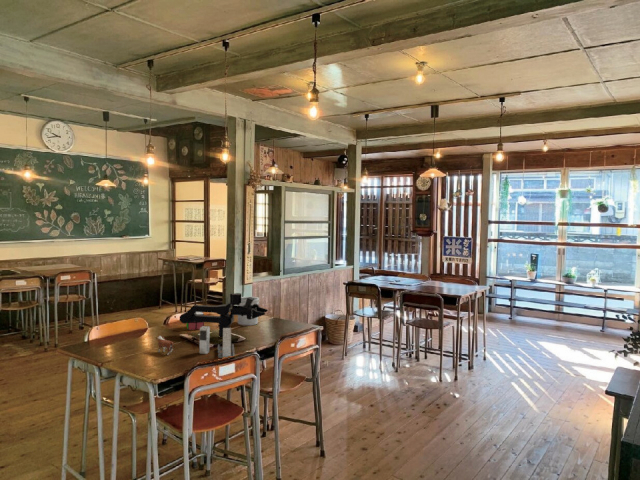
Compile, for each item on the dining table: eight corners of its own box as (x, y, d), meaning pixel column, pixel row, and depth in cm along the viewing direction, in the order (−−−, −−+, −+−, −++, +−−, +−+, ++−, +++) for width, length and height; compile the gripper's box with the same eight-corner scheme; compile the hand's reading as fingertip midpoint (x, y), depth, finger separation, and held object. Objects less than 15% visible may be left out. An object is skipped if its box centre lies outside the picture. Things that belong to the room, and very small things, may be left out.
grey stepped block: (217, 348, 262) (218, 322, 261) (233, 348, 263) (233, 321, 263) (218, 358, 244) (218, 330, 243) (234, 358, 246) (235, 329, 245)
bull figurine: (160, 349, 258) (161, 334, 257) (174, 354, 249) (175, 339, 249) (153, 350, 254) (153, 335, 254) (167, 356, 246) (167, 340, 245)
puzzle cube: (203, 329, 304) (204, 314, 303) (188, 330, 300) (188, 314, 300) (201, 325, 313) (202, 311, 313) (186, 326, 309) (186, 311, 309)
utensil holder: (232, 322, 325) (233, 297, 324) (250, 319, 335) (251, 295, 334) (244, 326, 314) (245, 300, 313) (262, 323, 324) (263, 298, 323)
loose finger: (202, 351, 256) (202, 326, 255) (209, 351, 256) (209, 326, 255) (198, 353, 251) (199, 328, 251) (206, 354, 251) (206, 328, 250)
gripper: (237, 300, 275) (263, 301, 274) (244, 294, 294) (269, 296, 293) (237, 319, 276) (263, 320, 275) (244, 312, 295) (268, 313, 294)
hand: (266, 312), depth 284 cm, fingers open, 9 cm apart
